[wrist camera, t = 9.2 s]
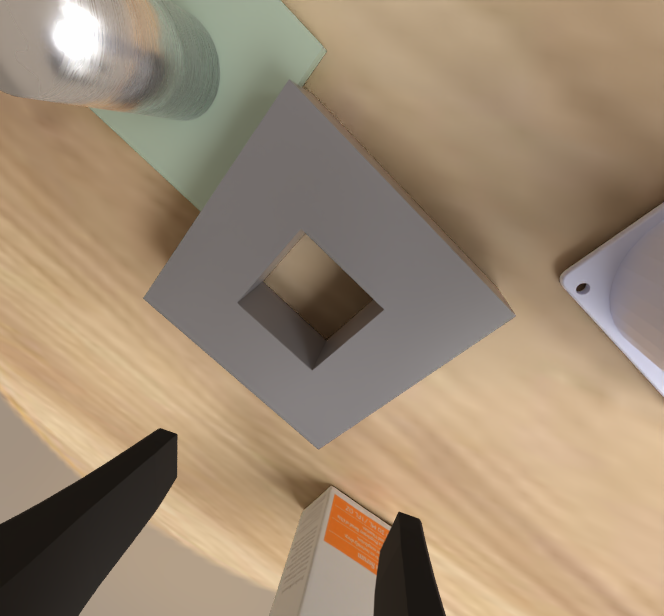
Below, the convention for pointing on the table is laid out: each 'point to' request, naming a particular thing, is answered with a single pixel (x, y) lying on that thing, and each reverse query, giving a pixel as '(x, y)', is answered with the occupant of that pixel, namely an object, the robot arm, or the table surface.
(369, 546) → the skincare box
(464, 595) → the table surface
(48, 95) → the plug
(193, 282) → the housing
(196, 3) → the mat
